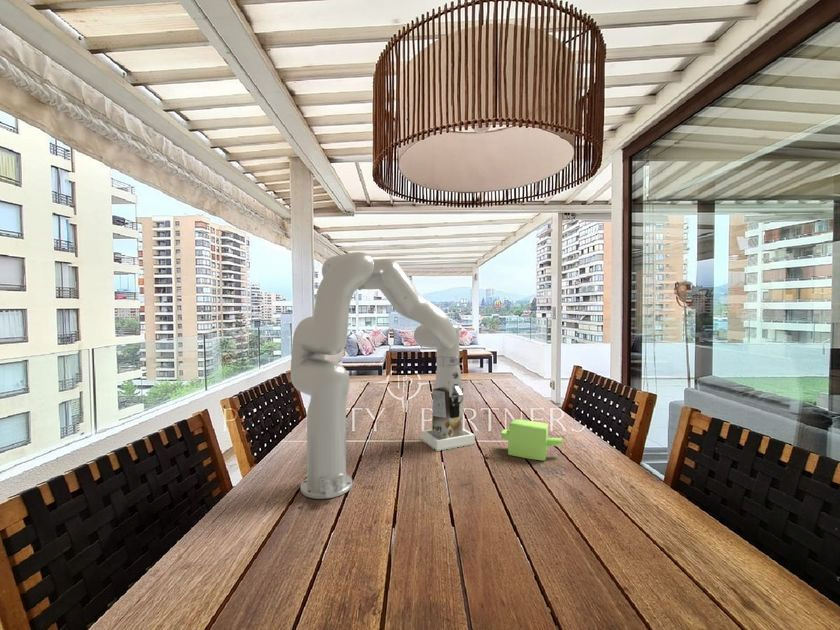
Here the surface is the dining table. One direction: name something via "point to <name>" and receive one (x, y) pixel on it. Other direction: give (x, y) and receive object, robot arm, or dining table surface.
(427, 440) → the locating tray
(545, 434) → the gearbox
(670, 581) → the dining table surface
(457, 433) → the coffee box
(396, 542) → the dining table surface
